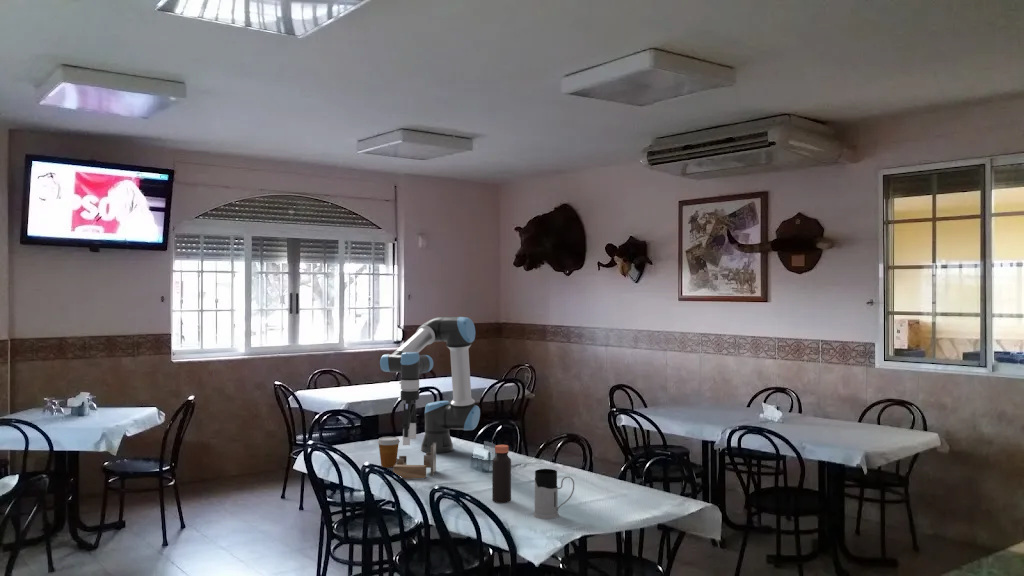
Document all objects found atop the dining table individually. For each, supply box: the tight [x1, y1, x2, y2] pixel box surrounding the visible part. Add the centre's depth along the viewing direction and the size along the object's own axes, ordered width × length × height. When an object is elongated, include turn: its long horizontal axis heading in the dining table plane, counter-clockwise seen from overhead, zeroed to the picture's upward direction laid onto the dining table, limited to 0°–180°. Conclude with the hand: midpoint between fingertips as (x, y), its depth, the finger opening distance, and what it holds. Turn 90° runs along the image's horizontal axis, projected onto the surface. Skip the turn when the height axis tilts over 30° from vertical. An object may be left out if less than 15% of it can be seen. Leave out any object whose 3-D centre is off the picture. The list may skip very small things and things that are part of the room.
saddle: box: [396, 455, 408, 465], centre depth 329 cm, size 7×3×6 cm, turn 177°
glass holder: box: [532, 468, 575, 520], centre depth 266 cm, size 9×14×15 cm, turn 73°
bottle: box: [491, 444, 512, 504], centre depth 285 cm, size 7×7×20 cm
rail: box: [392, 464, 427, 480], centre depth 320 cm, size 4×13×5 cm, turn 87°
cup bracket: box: [423, 443, 437, 476], centre depth 328 cm, size 8×4×12 cm, turn 177°
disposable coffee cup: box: [377, 436, 400, 468], centre depth 341 cm, size 10×10×12 cm
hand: (409, 442), depth 320 cm, fingers open, 13 cm apart
